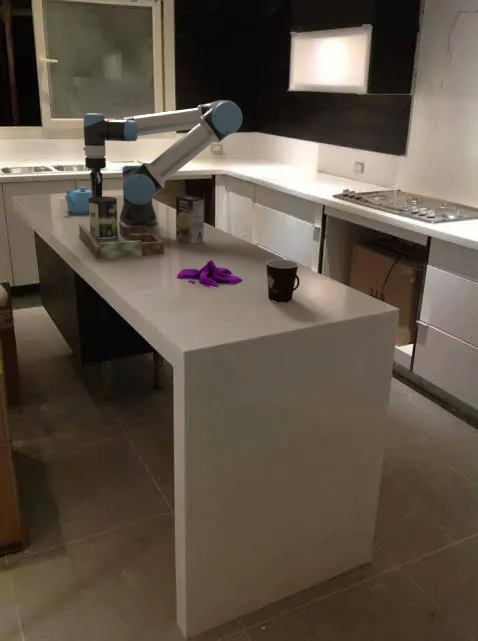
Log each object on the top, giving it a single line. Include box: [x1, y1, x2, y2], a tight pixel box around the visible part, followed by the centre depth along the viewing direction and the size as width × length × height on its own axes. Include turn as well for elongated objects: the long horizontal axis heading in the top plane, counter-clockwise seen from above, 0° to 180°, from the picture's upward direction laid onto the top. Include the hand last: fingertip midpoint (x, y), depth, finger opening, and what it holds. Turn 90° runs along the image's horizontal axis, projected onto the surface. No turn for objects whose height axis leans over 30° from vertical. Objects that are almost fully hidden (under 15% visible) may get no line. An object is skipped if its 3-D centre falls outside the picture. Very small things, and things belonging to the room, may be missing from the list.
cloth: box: [176, 259, 243, 288], centre depth 184 cm, size 22×19×6 cm
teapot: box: [64, 186, 92, 215], centre depth 271 cm, size 15×15×11 cm
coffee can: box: [88, 196, 119, 240], centre depth 229 cm, size 10×10×14 cm
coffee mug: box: [265, 258, 300, 303], centre depth 167 cm, size 12×9×10 cm
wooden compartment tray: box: [78, 221, 165, 260], centre depth 220 cm, size 23×36×5 cm, turn 22°
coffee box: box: [175, 194, 205, 245], centre depth 227 cm, size 9×6×16 cm
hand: (97, 219), depth 239 cm, fingers closed
